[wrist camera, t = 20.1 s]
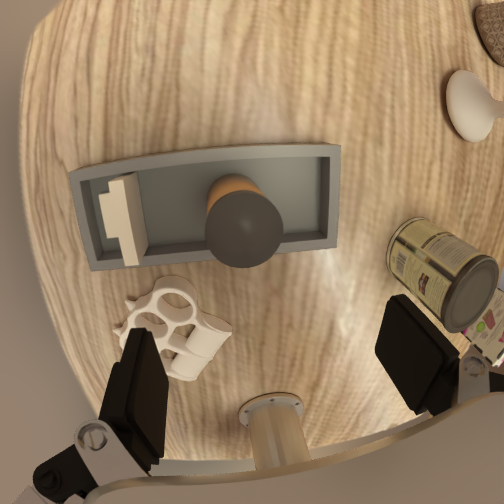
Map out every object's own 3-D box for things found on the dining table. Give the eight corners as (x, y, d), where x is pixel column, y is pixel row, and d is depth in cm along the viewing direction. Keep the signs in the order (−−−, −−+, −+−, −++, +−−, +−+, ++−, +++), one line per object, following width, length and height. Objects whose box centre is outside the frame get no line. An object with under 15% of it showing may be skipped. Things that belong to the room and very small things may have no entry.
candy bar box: (453, 320, 47) (498, 368, 32) (443, 315, 45) (491, 367, 31) (481, 275, 43) (533, 318, 29) (473, 268, 42) (529, 313, 27)
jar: (261, 222, 32) (283, 263, 22) (209, 227, 31) (209, 271, 22) (259, 170, 29) (283, 190, 20) (203, 175, 28) (200, 197, 19)
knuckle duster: (187, 381, 43) (104, 347, 38) (244, 305, 38) (143, 256, 33) (186, 396, 40) (99, 362, 35) (247, 320, 35) (137, 269, 30)
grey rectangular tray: (324, 235, 35) (336, 247, 31) (101, 257, 32) (91, 271, 28) (327, 143, 30) (340, 145, 26) (82, 166, 27) (68, 172, 24)
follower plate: (148, 244, 31) (139, 265, 26) (113, 248, 30) (99, 268, 26) (137, 171, 27) (123, 179, 23) (99, 177, 27) (80, 187, 22)
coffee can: (440, 257, 39) (497, 301, 26) (393, 290, 40) (445, 347, 28) (430, 203, 35) (500, 241, 22) (377, 239, 36) (442, 292, 23)
